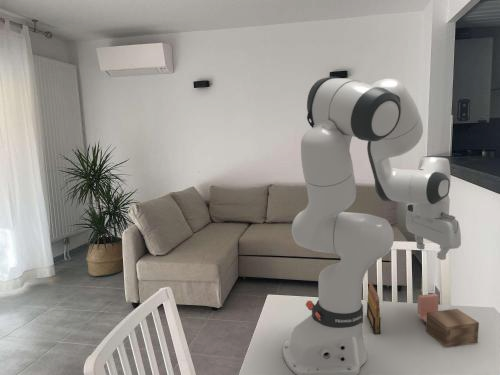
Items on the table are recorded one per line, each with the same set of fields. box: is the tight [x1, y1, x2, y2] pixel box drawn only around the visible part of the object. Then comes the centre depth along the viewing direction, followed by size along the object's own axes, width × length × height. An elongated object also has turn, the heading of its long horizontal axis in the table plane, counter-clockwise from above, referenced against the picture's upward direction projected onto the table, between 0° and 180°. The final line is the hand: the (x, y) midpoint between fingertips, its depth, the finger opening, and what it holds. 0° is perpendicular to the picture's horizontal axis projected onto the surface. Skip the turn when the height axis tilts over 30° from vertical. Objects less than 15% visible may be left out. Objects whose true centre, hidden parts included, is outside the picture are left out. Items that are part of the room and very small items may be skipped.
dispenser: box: [425, 308, 480, 348], centre depth 99 cm, size 10×8×6 cm
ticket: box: [417, 293, 440, 323], centre depth 103 cm, size 6×14×7 cm, turn 10°
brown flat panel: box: [366, 281, 382, 335], centre depth 107 cm, size 11×2×12 cm, turn 173°
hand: (430, 253), depth 106 cm, fingers open, 8 cm apart
